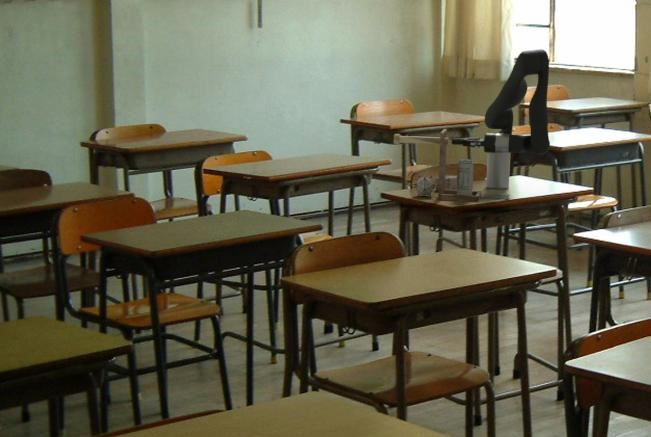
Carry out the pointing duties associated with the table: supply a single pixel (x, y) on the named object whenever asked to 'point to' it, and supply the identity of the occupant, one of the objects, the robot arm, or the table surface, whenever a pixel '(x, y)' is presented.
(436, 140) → the key bar
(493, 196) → the mat
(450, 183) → the mineral specimen
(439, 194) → the wooden gallows stand
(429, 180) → the game die
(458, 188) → the energy drink can
